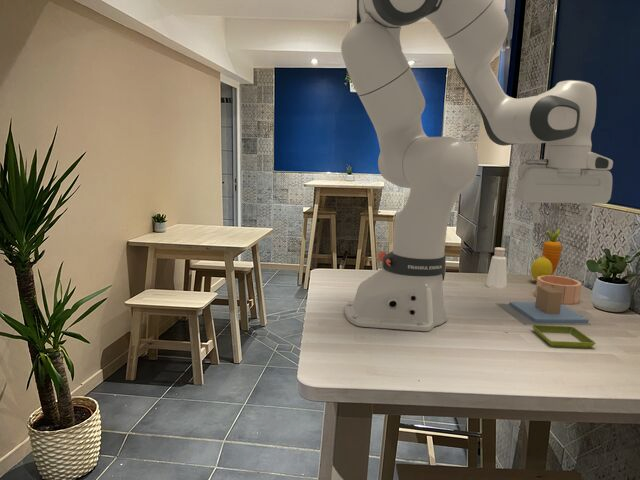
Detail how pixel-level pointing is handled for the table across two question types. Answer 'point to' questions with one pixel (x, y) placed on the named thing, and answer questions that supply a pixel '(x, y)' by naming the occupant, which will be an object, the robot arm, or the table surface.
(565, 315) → the lid
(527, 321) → the mat
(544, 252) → the carrot
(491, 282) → the salt shaker
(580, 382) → the table surface
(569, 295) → the bowl
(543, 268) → the lemon
